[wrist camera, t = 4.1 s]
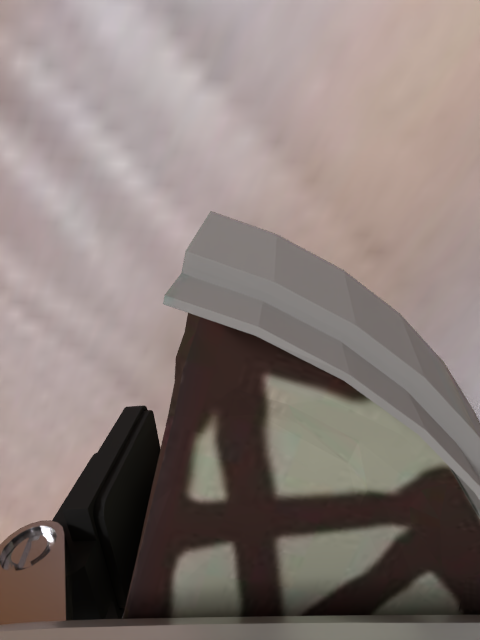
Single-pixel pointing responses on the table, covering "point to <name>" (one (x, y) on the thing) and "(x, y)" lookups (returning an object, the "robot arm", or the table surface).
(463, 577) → the food container
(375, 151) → the table surface
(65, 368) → the table surface
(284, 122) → the table surface
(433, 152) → the table surface
